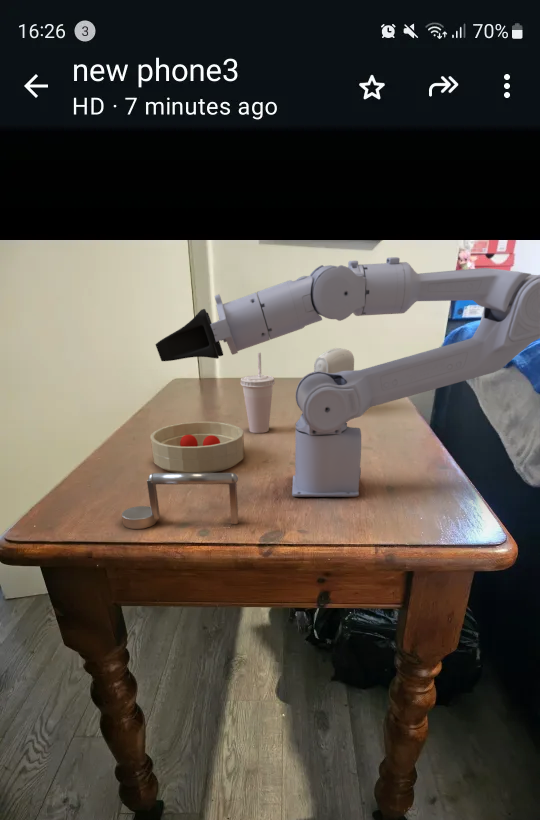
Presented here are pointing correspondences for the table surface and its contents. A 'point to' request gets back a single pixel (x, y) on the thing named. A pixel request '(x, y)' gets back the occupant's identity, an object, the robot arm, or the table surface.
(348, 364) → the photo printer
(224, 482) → the bent metal rod stand
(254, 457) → the table surface
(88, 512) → the table surface
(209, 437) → the tomato
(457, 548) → the table surface
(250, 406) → the smoothie
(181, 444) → the tomato
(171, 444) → the bowl
